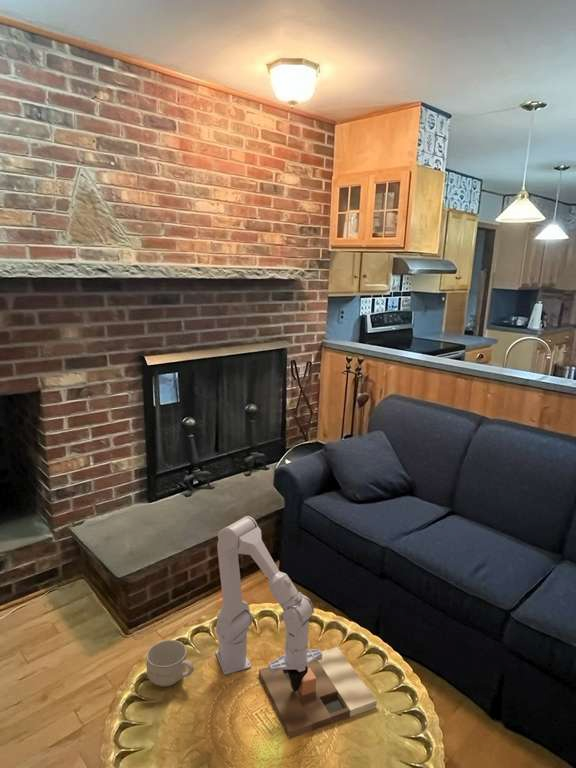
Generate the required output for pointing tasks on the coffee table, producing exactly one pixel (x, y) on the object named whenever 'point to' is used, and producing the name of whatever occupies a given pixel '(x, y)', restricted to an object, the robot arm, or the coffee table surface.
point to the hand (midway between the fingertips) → (294, 688)
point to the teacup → (167, 662)
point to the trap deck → (318, 694)
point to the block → (308, 683)
